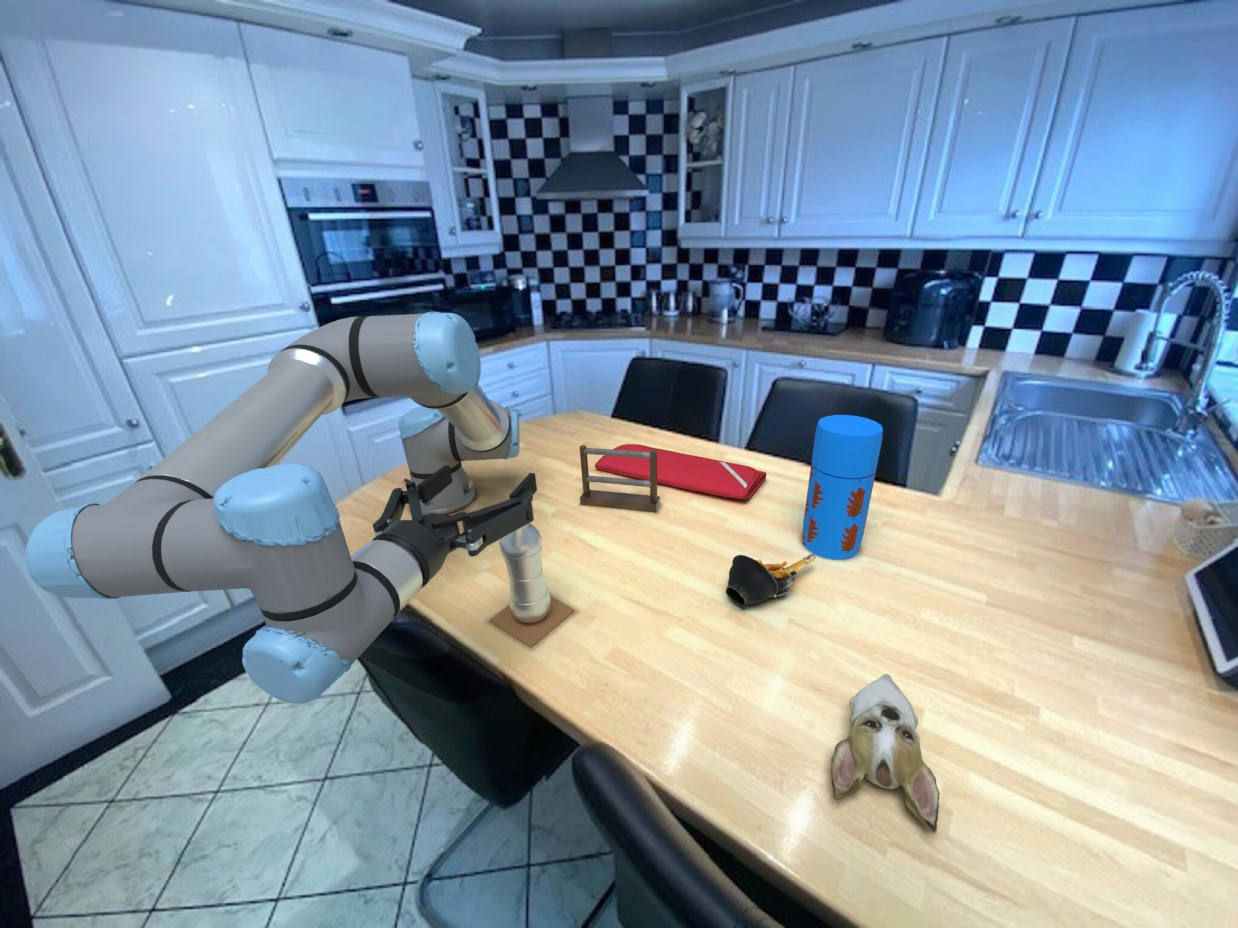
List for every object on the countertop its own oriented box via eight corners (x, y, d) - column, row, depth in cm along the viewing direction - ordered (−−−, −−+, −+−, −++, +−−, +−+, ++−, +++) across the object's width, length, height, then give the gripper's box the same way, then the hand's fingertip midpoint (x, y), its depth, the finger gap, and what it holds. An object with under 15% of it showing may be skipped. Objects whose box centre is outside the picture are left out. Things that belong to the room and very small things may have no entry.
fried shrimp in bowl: (704, 573, 85) (765, 507, 93) (734, 621, 88) (791, 553, 96) (743, 583, 77) (806, 510, 85) (774, 635, 80) (833, 560, 88)
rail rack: (580, 504, 118) (575, 449, 112) (586, 496, 121) (581, 442, 115) (656, 512, 113) (655, 455, 107) (659, 503, 116) (659, 448, 110)
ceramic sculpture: (940, 676, 59) (957, 803, 48) (924, 723, 64) (936, 851, 52) (842, 652, 64) (835, 763, 52) (833, 697, 68) (825, 810, 56)
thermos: (861, 535, 102) (884, 418, 91) (859, 565, 93) (884, 440, 82) (804, 524, 106) (819, 412, 95) (797, 552, 97) (813, 432, 87)
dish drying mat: (625, 449, 145) (625, 437, 144) (766, 479, 125) (768, 465, 123) (594, 471, 133) (593, 458, 132) (745, 507, 113) (746, 493, 112)
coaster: (489, 621, 84) (489, 619, 84) (533, 589, 91) (533, 587, 91) (531, 647, 78) (530, 645, 78) (574, 611, 85) (574, 609, 85)
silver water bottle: (544, 630, 81) (530, 524, 72) (505, 626, 82) (486, 520, 73) (557, 603, 86) (545, 501, 78) (520, 599, 88) (504, 499, 79)
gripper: (312, 578, 59) (421, 492, 78) (504, 610, 53) (573, 508, 71) (291, 524, 56) (410, 447, 74) (494, 551, 50) (569, 460, 68)
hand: (490, 477), depth 73 cm, fingers open, 13 cm apart
